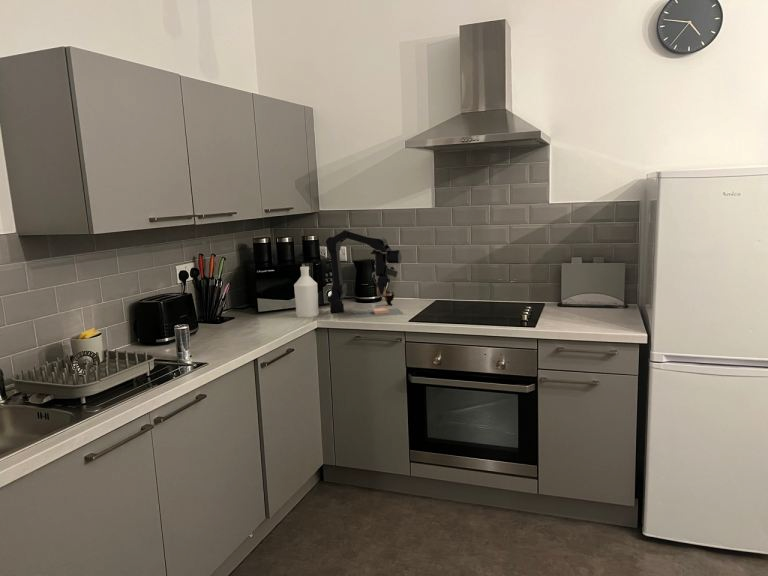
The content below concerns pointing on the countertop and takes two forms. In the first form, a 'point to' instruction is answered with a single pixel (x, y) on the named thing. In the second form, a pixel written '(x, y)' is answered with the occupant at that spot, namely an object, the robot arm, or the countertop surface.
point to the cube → (379, 292)
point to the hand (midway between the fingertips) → (381, 293)
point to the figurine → (389, 297)
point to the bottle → (306, 295)
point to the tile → (380, 311)
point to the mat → (370, 314)
